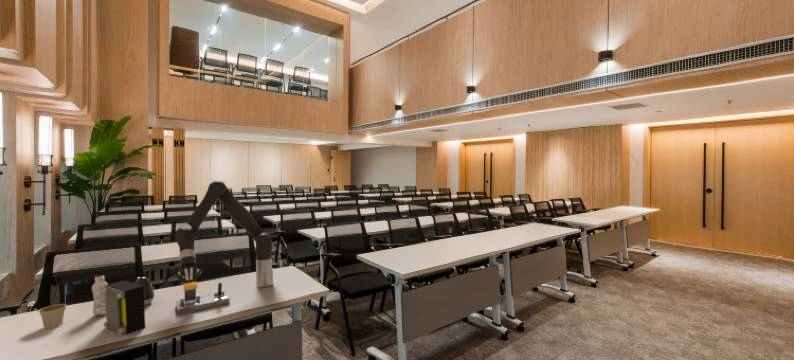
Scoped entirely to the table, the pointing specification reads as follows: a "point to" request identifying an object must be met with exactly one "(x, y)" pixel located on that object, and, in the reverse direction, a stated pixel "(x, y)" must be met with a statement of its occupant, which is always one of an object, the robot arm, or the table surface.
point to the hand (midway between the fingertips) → (189, 287)
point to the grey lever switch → (203, 302)
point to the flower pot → (52, 315)
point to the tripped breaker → (190, 291)
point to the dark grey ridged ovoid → (146, 289)
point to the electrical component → (124, 307)
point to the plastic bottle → (99, 296)
